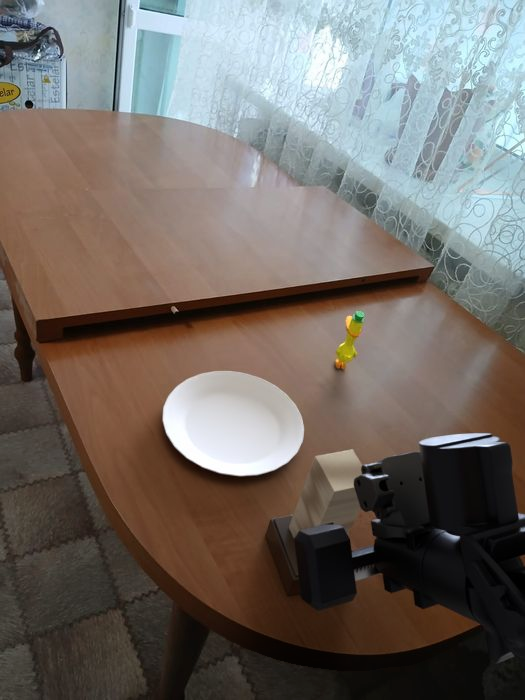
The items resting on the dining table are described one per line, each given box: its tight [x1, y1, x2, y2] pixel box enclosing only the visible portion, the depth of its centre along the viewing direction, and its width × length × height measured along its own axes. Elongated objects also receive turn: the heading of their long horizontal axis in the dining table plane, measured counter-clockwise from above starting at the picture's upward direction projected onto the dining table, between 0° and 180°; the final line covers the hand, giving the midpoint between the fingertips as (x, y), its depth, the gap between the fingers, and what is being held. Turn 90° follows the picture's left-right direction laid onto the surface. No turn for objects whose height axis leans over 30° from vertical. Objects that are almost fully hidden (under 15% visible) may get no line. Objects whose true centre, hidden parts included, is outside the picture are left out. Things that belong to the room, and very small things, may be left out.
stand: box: [264, 514, 301, 597], centre depth 65 cm, size 8×8×4 cm
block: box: [289, 449, 363, 538], centre depth 60 cm, size 5×5×13 cm
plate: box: [161, 370, 305, 477], centre depth 80 cm, size 21×21×2 cm
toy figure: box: [334, 310, 366, 370], centre depth 94 cm, size 7×4×12 cm, turn 1°
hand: (346, 528), depth 57 cm, fingers open, 9 cm apart
